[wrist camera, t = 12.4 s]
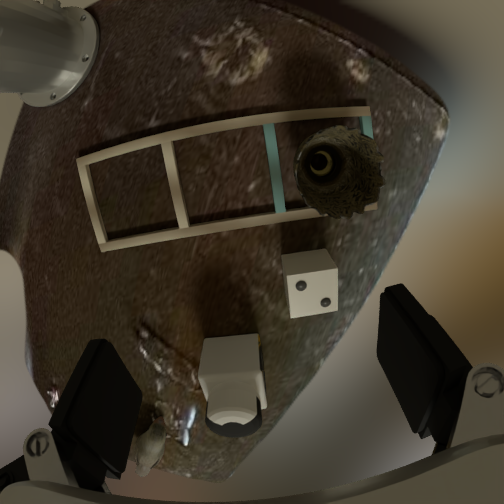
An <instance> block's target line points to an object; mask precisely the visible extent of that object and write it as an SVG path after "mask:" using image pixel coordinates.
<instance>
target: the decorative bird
mask: <svg viewBox="0 0 504 504" xmlns="http://www.w3.org/2000/svg"><path fill="white" fill-rule="evenodd" d="M166 436H167V434H166V429H165V422H164V419H163V417H162V416H160V417H158V418H157V419H156V420H154V422H153V423H152V425H151V426H150V427H149V428H148V430H147V432H145V433H143V434H141V435H140V436H139V438H138V440H137V442H136V446H135V460H136V465H137V467H136V471H135V472H136V473H137V474H138V475H139V476H141V477H143V476H147V474H148V473H149V471H150V469H152V468H153V467H155V466H156V465H157V464H158V463H159V461H160V459H161V458H162V455H163V453H164V448H165V443H164V442H165V439H166ZM136 457H137V459H136ZM137 461H138V463H137ZM151 466H152V467H151ZM150 467H151V468H150Z"/></svg>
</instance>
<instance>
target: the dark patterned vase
mask: <svg viewBox="0 0 504 504" xmlns="http://www.w3.org/2000/svg"><path fill="white" fill-rule="evenodd" d="M317 154H321V155H323V156H325V158H326V160H327V165H326V167H325V168H324V169H322V170H317V169H315V168H313V166H312V164H311V160H312V158H313V157H314V156H315V155H317ZM383 161H384V157H383V155H382V154H381V153H380V152H379V151H378V146H377V144H376V142H375V141H374V140H373V139H372V138H371V137H369V136H367V135H365V134H362V133H360V130H359V129H357V128H347V127H346V126H343V125H336V126H332V127H328V128H325V129H322V130H320V131H318V132H316V133H314V134H312V135H311V136H309V137H308V138H307V139H305V140H304V141H303V142H302V143H301V145H300V146H299V148H298V150H297V152H296V154H295V157H294V164H293V170H294V176H295V180H296V184H297V188H298V190H299V193H300V195H301V196H302V197H303V199H304V201H305V203H306V204H307V206H308V207H309V208H311V209H315V210H316V211H317V212H318V213H319V214H320V215H321V216H325V215H326V214H327V215H328V216H330V217H333V218H335V219H340V218H341V217H342V218H345V219H350V218H351V217H352V216H353V212H357V213H359V214H363V213H364V210H365V207H366V206H368V205H372V204H374V203H376V202H377V201H378V199H379V195H380V188H383V187H384V185H385V179H384V178H382V177H383V176H381V170H382V168H381V166H380V162H383Z"/></svg>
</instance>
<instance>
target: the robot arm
mask: <svg viewBox="0 0 504 504" xmlns="http://www.w3.org/2000/svg"><path fill="white" fill-rule="evenodd" d="M99 36H100V34H99V28H98V24H97V22H96V20H95V18H94V17H93V16H92V15H91V14H90V13H88V12H87V11H85V10H84V9H81V8H79V7H63V8H61V7H60V2H59V1H58V0H44V2H43V5H42V4H40V2H39V1H33V0H0V92H2V93H4V92H6V93H7V92H8V93H18V95H19V97H20V98H21V99H22V100H23V101H24V102H25V103H27V104H29V105H31V106H36V107H46V106H51V105H54V104H56V103H59V102H61V101H62V100H64V99H65V98H67V97H68V96H70V95H71V94H72V93H73V92H74V91H75V90H76V89H77V88H78V87H79V86H80V84H81V83H82V82H83V81H84V79H85V78H86V76H87V75H88V73H89V72H90V70H91V68H92V66H93V64H94V61H95V58H96V55H97V52H98V47H99ZM88 58H89V59H88ZM377 357H378V360H379V363H380V364H381V366H382V368H383V370H384V372H385V374H386V376H387V378H388V380H389V383H390V385H391V387H392V389H393V391H394V393H395V395H396V397H397V399H398V401H399V403H400V405H401V408H402V410H403V412H404V414H405V416H406V418H407V421H408V423H409V425H410V427H411V429H412V431H413V432H414V433H418V434H419V436H420V438H421V439H423V438H426V437H428V436H430V435H432V437H433V439H434V441H436V444H435V447H434V450H433V453H432V455H431V456H429V457H426V458H424V459H421V460H419V461H416V462H414V463H411V464H409V465H406V466H403V467H401V468H398V469H395V470H392V471H389V472H386V473H383V474H380V475H377V476H374V477H370V478H367V479H364V480H360V481H357V482H353V483H349V484H345V485H342V486H337V487H334V488H329V489H324V490H320V491H315V492H310V493H304V494H299V495H292V496H285V497H278V498H270V499H261V500H250V501H235V502H175V501H160V500H150V499H141V498H133V497H125V496H119V495H112V494H111V492H110V490H109V489H108V486H107V485H106V483H105V481H104V480H105V476H106V477H108V478H113V479H119V480H120V478H121V473H123V472H124V471H125V468H126V464H127V459H128V455H129V451H130V446H131V442H132V438H133V434H134V430H135V426H136V422H137V418H138V414H139V410H140V406H141V402H142V392H141V390H140V388H139V387H138V385H137V384H136V382H135V381H134V379H133V378H132V376H131V374H130V373H129V371H128V370H127V368H126V366H125V365H124V363H123V362H122V360H121V358H120V357H119V355H118V353H117V352H116V350H115V348H114V346H113V345H112V343H110V342H108V341H107V340H106V339H94V340H90V341H89V343H88V345H87V346H86V348H85V350H84V352H83V354H82V356H81V358H80V360H79V361H78V363H77V365H76V367H75V369H74V371H73V373H72V375H71V377H70V379H69V381H68V383H67V385H66V387H65V389H64V391H63V393H62V395H61V397H60V400H59V402H58V404H57V406H56V408H55V410H54V412H53V415H52V417H51V419H50V422H49V426H50V427H51V428H52V431H51V432H50V431H49V430H47V429H44V428H39V429H36V430H34V431H32V432H31V433H30V434H29V435H28V437H27V438H26V439H25V441H24V445H23V452H24V455H23V456H21V457H19V458H18V459H16V460H14V461H13V462H11V463H9V464H8V465H6V466H4V467H3V468H1V469H0V504H504V370H503V369H502V368H501V367H499V366H498V365H495V364H492V363H482V364H479V365H477V366H475V367H472V366H471V364H470V363H469V361H468V360H467V359H466V357H465V356H464V355H463V353H462V352H461V351H460V349H459V348H458V347H457V346H456V344H455V343H454V342H453V341H452V339H451V338H450V337H449V335H448V334H447V333H446V332H445V330H444V329H443V328H442V327H441V325H440V324H439V323H438V322H437V320H436V319H435V318H434V317H433V316H432V315H429V314H428V313H427V312H426V311H425V309H424V308H423V307H422V306H421V305H420V303H419V302H418V301H417V300H416V299H415V297H414V296H413V295H412V294H411V293H410V292H409V291H408V289H407V288H406V287H405V286H404V285H403V284H397V285H393V286H389V287H386V288H385V290H384V293H381V295H380V311H379V327H378V341H377Z"/></svg>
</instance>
